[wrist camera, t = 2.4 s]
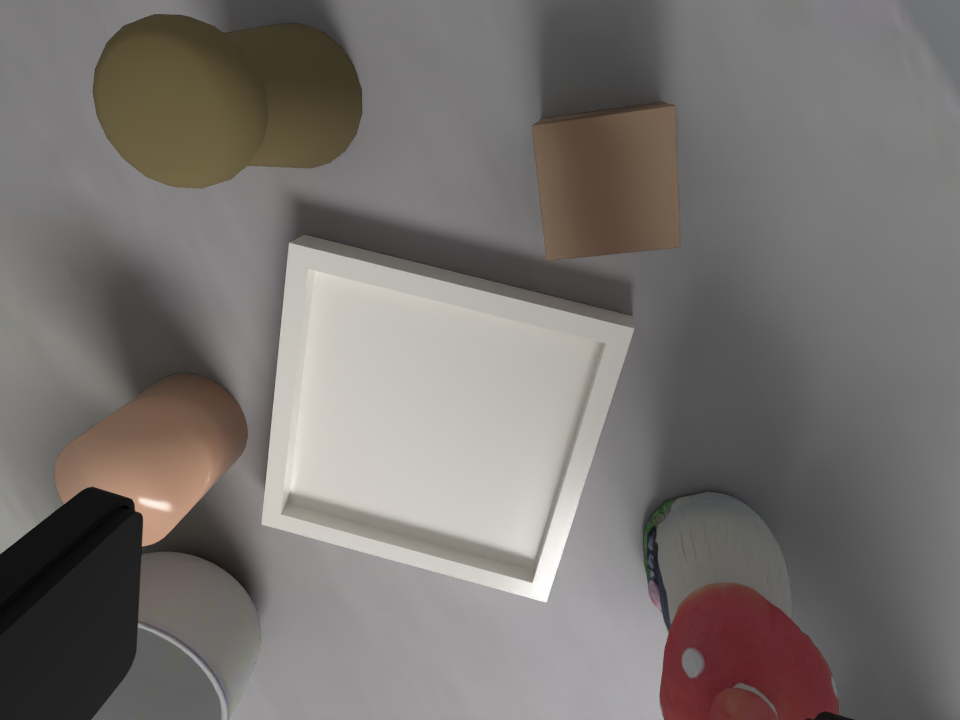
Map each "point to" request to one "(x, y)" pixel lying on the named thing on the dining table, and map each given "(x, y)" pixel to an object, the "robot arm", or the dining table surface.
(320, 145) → the cork
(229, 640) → the teacup
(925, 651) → the dining table surface
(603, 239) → the walnut block
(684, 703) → the decorative ornament
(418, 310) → the tray
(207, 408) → the peach rounded cylinder
